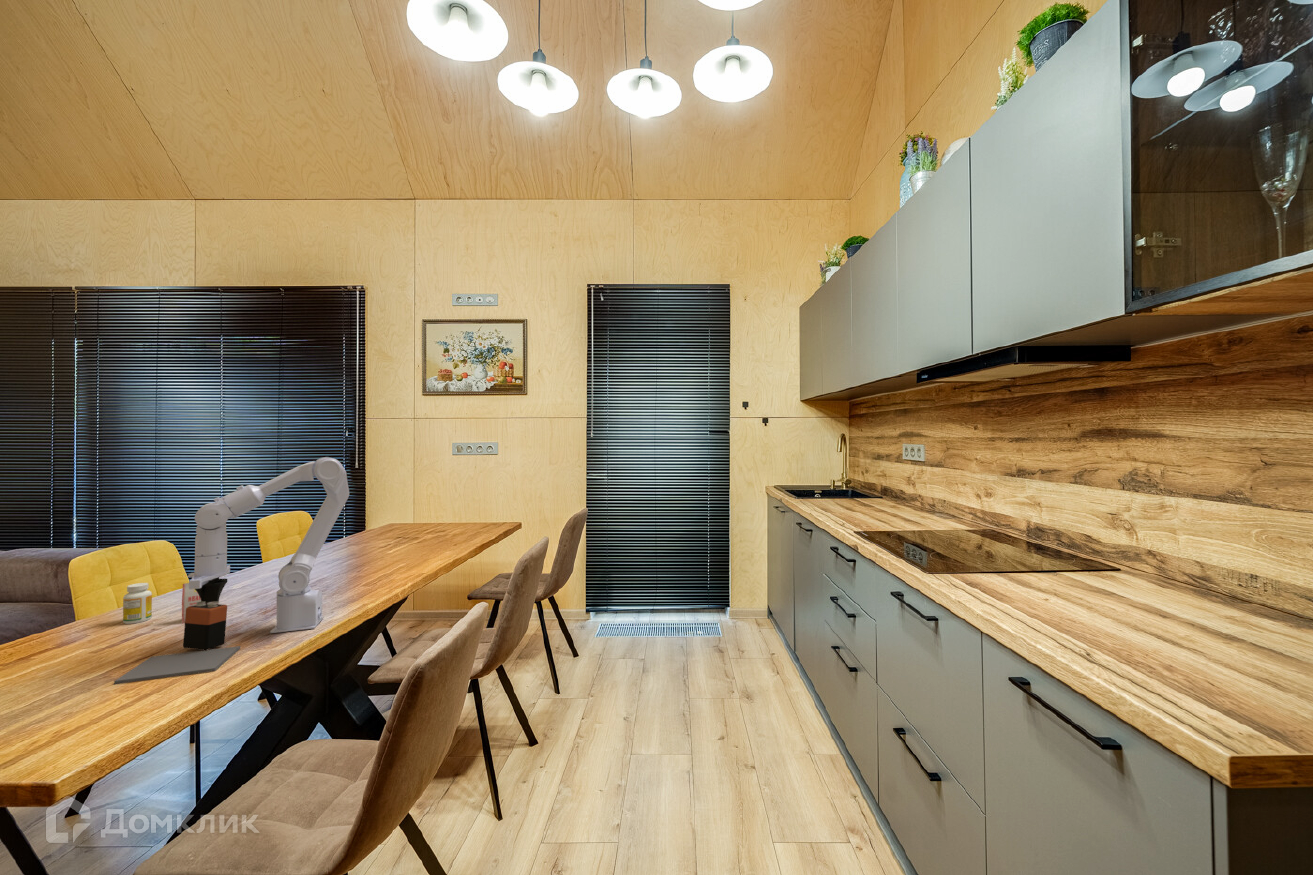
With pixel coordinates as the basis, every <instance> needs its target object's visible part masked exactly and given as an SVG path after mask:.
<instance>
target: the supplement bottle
mask: <svg viewBox="0 0 1313 875" xmlns="http://www.w3.org/2000/svg"><path fill="white" fill-rule="evenodd" d="M149 584H150V583H149V582H138V583H133V584H129V585H127V587H126V591H127V593H126V594H124V596H123V598H122V602H123V603H122V609H123V610H122V611H123V612H122V617H123V618H122V623H123V624H125V625H134V624H141V623H143V622H146V621H149V620H151V618H152V617H153V616H152V615H153V614H152V610H153V608H152V607H153V592H152V591H151V590H148V589H149V588H150V586H149Z"/></svg>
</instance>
